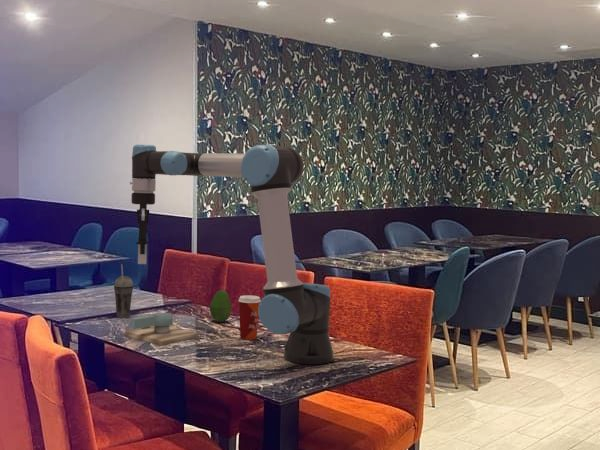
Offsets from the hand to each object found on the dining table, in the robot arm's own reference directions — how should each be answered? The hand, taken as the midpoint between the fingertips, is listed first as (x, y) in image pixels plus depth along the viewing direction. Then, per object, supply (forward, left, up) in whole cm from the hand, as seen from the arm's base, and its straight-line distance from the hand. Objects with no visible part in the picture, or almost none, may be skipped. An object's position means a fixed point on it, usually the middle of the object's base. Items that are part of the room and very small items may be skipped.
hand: (142, 263), depth 228 cm
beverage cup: (+29, -15, -25) cm, 41 cm away
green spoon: (-4, -2, -20) cm, 21 cm away
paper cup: (-25, -25, -25) cm, 44 cm away
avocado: (-1, -36, -25) cm, 44 cm away
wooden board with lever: (-4, -5, -25) cm, 25 cm away
